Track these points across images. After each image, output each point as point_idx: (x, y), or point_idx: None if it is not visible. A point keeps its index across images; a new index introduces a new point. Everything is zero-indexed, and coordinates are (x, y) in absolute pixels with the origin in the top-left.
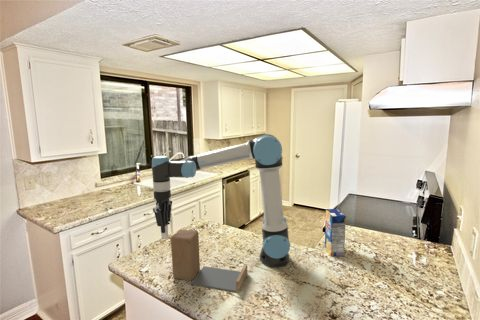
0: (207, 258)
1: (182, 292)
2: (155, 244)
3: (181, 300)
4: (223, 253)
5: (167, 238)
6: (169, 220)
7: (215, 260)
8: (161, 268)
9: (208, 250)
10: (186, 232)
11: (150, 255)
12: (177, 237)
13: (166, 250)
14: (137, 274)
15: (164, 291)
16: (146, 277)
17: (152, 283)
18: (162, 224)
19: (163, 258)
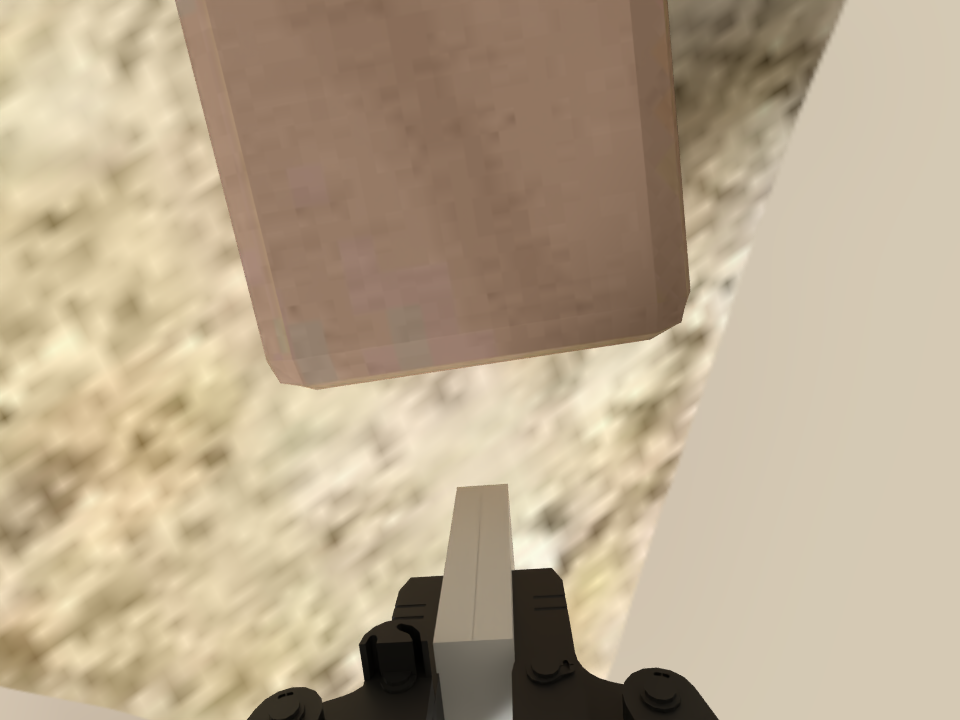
0: (181, 135)
1: (721, 71)
2: (187, 705)
3: (816, 18)
4: (23, 15)
5: (483, 486)
6: (304, 713)
7: (177, 34)
8: (479, 440)
9: (48, 203)
10: (366, 141)
11: (348, 636)
12: (652, 193)
13: (228, 567)
14: (609, 558)
15: (745, 227)
16: (623, 472)
17: (678, 380)
18: (674, 718)
19: (346, 515)
